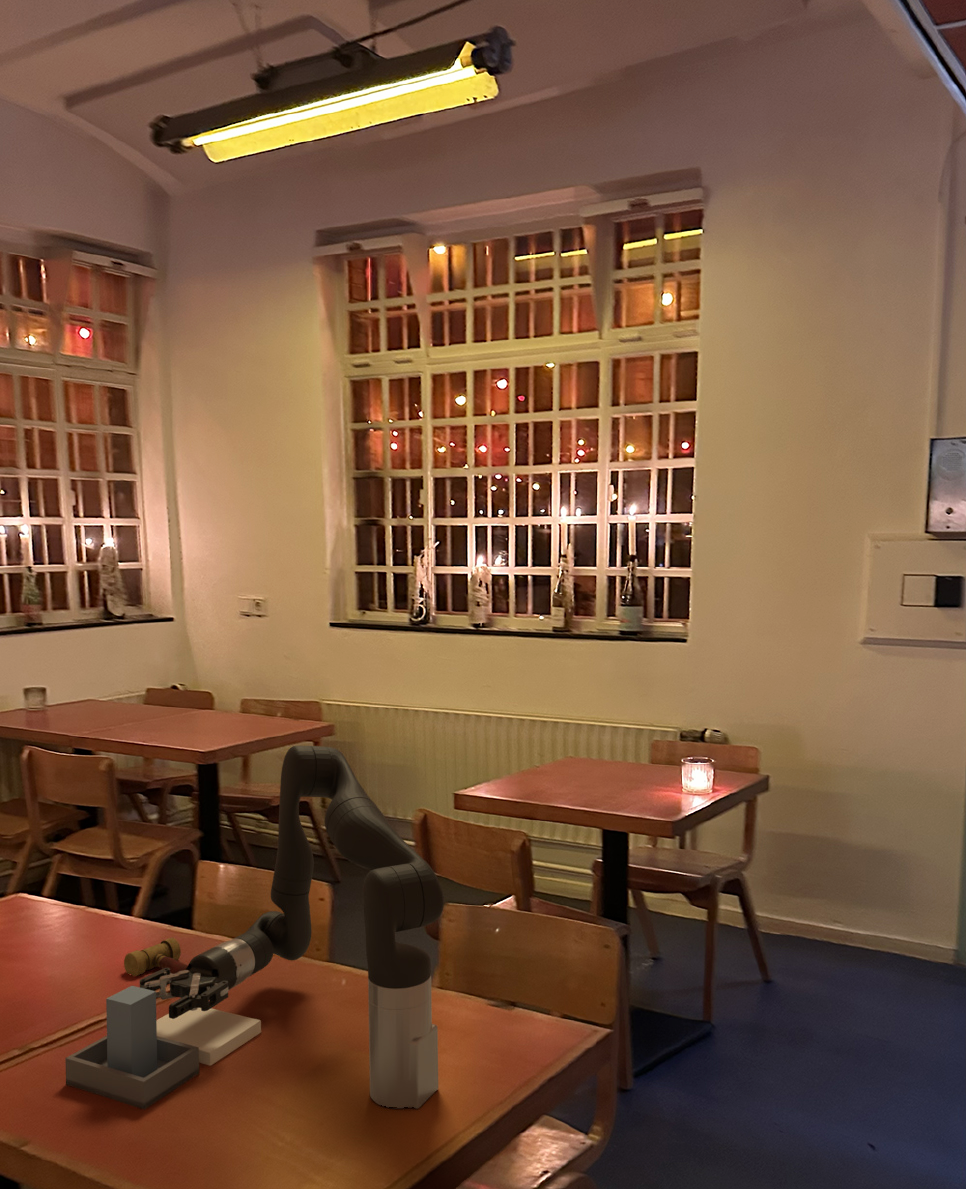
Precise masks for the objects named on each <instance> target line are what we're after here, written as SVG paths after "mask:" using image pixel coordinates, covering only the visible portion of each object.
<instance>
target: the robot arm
mask: <svg viewBox="0 0 966 1189" xmlns="http://www.w3.org/2000/svg"><path fill="white" fill-rule="evenodd" d="M284 755H285V756H284V758H283V761H282V766H281V772H280V774H281V775H280V786H279V787H280V788H279V791H280V792H279V804H278V805H279V807H278V832H277V833H278V834H277V835H278V837H277V838H278V840H277V851H276V852H277V853H276V859H275V865H274V872H273V875H272V876H273V877H272V882H271V889H270V900H271V902H272V903H273V904H274V905H275V906H277V907H278V908H279V909H280V910H281V911H282V912H281V911H276V910H272V911H267V912H264V913H262V914H261V915H260V916H259V917H258V918H257V919H256V920H255V922H253V924H252V925H250V927H249V928H247V930H246V931H245V932H244V933H242V934H240V935H238V936H236V937H234V938H232V939H230V940H226V941H224V942H221V943H219V944H217V945H215V946H214V947H210V948H209V949H208V950H205V951H203V952H201V953H199V954H197V955H195V956H194V957H193V958H192V959H191V960H190V961H189V962H188V964H187V965H188V966H187V968H186V969H185V970H184V971H179V972H177V973H175V974H172V973H170V968H164V969H162V968H161V969H160V970H158V971H155V972H154V973H151V974H148V975H147V976H145V977H142V978H140V979H139V987H140V988H144V989H148V990H152V991H156V999H161V1000H168V999H174V998H179V999H177V1000H175V1001H174V1002H171V1003H170V1004H169V1005H168V1014H169V1018H172V1019H175V1018H177V1017H179V1016H181V1015H182V1014H184V1013H185V1012H188V1011H189V1010H191V1011H194V1010H197V1009H198V1008H201V1011H208V1010H209V1009H211V1008H212V1009H213V1008H214V1007H215V1006H217V1005H218V1004H220V1003H222V1002H224V1000H226V999H228V998H229V991H230V990H231V989H234V988H235V987H237V986H238V985H240V984H241V983H243V982H244V981H246V979H248V978H249V977H251V976H252V975H254V974H256V973H258V972H259V971H262V970H263V969H264V968H266V967H267V966H268V965H269V964H270V963H271V961H272V959H273V956H274V955H276V956H278V957H280V958H283V959H284V960H287V961H297V960H300V958H302V957H303V956H304V955H305V953H306V952H307V951H308V948H309V947H310V943H311V940H312V918H311V910H310V909H311V906H310V898H309V897H310V891H311V886H312V881H313V874H314V866H315V862H314V861H315V860H314V854H313V850H312V847H311V845H310V841H309V839H308V836H307V835H306V833H305V831H304V828H303V825H302V823H301V818H300V809H299V808H300V800H301V798H325V799H326V798H327V799H331V800H330V803H329V804H328V807H327V809H326V812H325V815H324V827H325V831H326V834H327V835H328V837H329V839H330V841H331V842H332V844H333V845H334V846H335V849H336V850H337V852H338V853H339V854H340V855H341V856H342V857H343V858H344V859H346V860H347V861H349V862H351V863H353V864H355V865H356V866H359V867H361V868H362V869H366V870H368V873H367V874H366V876H365V877H364V881H363V886H362V907H363V909H362V910H363V919H364V932H365V934H364V936H365V938H364V939H365V940H364V941H365V954H366V964H367V983H368V984H367V986H368V988H367V991H368V997H367V998H368V1001H367V1002H368V1003H367V1004H368V1038H369V1039H368V1051H369V1054H368V1056H369V1057H368V1058H369V1060H368V1061H369V1062H368V1063H369V1064H368V1065H369V1066H368V1068H369V1096H370V1099H371V1100H372V1101H373V1102H374V1103H375V1104H377V1105H379V1106H381V1105H382V1107H384V1106H386V1108H389V1107H397V1108H396V1109H405V1108H404V1107H408V1108H412V1107H414V1108H413V1109H420V1107H422V1105H424V1104H425V1103H426V1102H427V1100H429V1098H431V1096H433V1095H434V1094H435V1093H436V1092H437V1090H439V1048H438V1047H439V1040H438V1039H439V1038H438V1037H439V1036H438V1032H439V1031H438V1029H439V1028H438V1025H437V1024H434V1023H433V1021H432V1020H433V1017H432V1014H433V1013H432V1009H433V1008H432V1003H433V1002H432V961H431V956H430V955H429V953H428V951H426V950H424V949H423V948H421V947H418V946H415V945H411V944H405V943H402V942H397V941H396V933H399V932H403V931H409V930H413V929H418V928H422V927H426V926H429V925H431V924H433V923H435V922H436V921H438V919H440V917H441V915H442V913H443V911H444V905H445V904H444V903H445V900H444V893H443V888H442V885H441V882H440V880H439V879H438V876H437V875H436V872H435V871H434V869H432V867H431V865H430V864H429V863H428V862H427V861H426V860H424V859H423V858H422V856H421V855H420V854H418V852H416V851H415V850H414V849H413V848H412V847H411V845H409V844H408V843H407V842H406V841H405V840H404V839H403V838H402V837H401V836H400V835H399V833H398V832H397V831H396V829H394V827H393V826H392V825H391V824H390V823H389V822H390V821H388V819H387V818H386V817H385V815H384V814H383V812H382V810H381V809H379V807H378V806H377V804H376V803H375V802H374V801H373V800H372V799H371V798H370V796H369V794H367V792H366V791H365V790H364V788H363V786H362V785H361V784H360V782H359V781H358V779H357V777H356V776H355V773H354V771H353V770H352V768H351V766H350V764H349V762H348V760H347V759H346V757H345V756H344V754H343V753H342V751H340V750H339V749H338V748H335V747H331V746H319V745H293V746H291V747H290V748H289V749H288V750H287V752H286V754H284ZM168 985H169V992H166V991H167V990H166V987H167V986H168ZM158 990H159V991H158Z"/></svg>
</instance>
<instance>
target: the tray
mask: <svg viewBox="0 0 966 1189" xmlns="http://www.w3.org/2000/svg"><path fill="white" fill-rule="evenodd" d="M64 1061H65V1062H64V1063H65V1085H67V1086H70V1087H72V1088H76V1089H79V1090H82V1091H85V1092H88V1093H92V1094H95V1095H99V1096H101V1097H103V1098H108V1099H110V1100H114V1101H116V1102H119V1103H123V1104H126V1105H129V1106H132V1107H136V1108H139V1109H141V1110H146V1109H147V1108H149V1107H150V1106H152V1105H154V1104H155V1103H157V1102H158V1101H160V1100H161V1099H163V1098H165V1096H168V1095H169V1094H170V1093H171V1092H173V1091H175V1090H176V1089H178V1088H179V1087H181V1086H183V1085H184V1084H185V1083H186V1082H187V1083H188V1082H189V1081H190V1080H191V1079H193V1078H194V1077H196V1076H197V1075H199V1074H200V1063H199V1047H195V1046H192V1045H188V1044H184V1043H181V1042H177V1041H173V1040H170V1039H166V1038H162V1037H158V1036H157V1070H156V1071H154V1072H152V1073H151V1074H149V1075H147V1076H146V1077H144V1078H143V1077H139V1076H136V1075H133V1074H129V1073H126V1072H123V1071H119V1070H116V1069H113V1068H109V1067H108V1063H107V1035H105V1036H103V1037H102V1038H100V1039H98V1040H96V1041H94V1042H92V1043H91V1044H89V1045H86V1046H85V1047H83V1048H81V1049H79V1050H78V1051H76V1052H74V1053H73V1054H70V1055H68V1056H67V1057H65V1060H64Z"/></svg>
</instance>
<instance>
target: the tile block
mask: <svg viewBox="0 0 966 1189" xmlns="http://www.w3.org/2000/svg"><path fill="white" fill-rule="evenodd" d="M156 992H157V990H156V991H152V990H148V989H144V988H140V986H135V985H131V986H128V987H127V988H124V989H123V990H120V991H119V992H118V991H117V993H114V994H113V995H111V996H108V997H107V998H105V1000H106V1001H105V1002H106V1003H105V1004H106V1005H105V1006H106V1008H105V1009H106V1036H107V1063H108V1067H109V1068H113V1069H116V1070H119V1071H123V1072H126V1073H129V1074H133V1075H136V1076H139V1077H143V1078H144V1077H146V1076H147V1075H149V1074H151V1073H152V1072H154V1071H156V1070H157V1023H156V1020H157V998H156Z"/></svg>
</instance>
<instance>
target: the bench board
mask: <svg viewBox="0 0 966 1189" xmlns="http://www.w3.org/2000/svg"><path fill="white" fill-rule="evenodd" d="M156 1023H157V1036H158V1037H162V1038H166V1039H170V1040H173V1041H177V1042H181V1043H184V1044H188V1045H192V1046H195V1047H199V1064H203V1065H207V1066H210V1067H211V1066H212V1065H214V1064H215V1063H217V1062H219V1061H220V1060H222V1059H224V1058H225V1057H226V1056H227V1055H229V1054H230V1053H232V1052H234V1051H235V1050H237V1049H238V1048H239V1047H241V1046H242V1045H244V1044H245V1043H247V1042H248V1041H251V1040H252V1039H253V1038H254V1037H257V1036H259V1034H261V1032H262V1021H261V1020H260V1019H257V1018H251V1017H249V1016H248V1017H247V1016H244V1015H240V1014H236V1013H231V1012H228V1011H224V1010H219V1009H215V1008H213V1007H212V1008H211V1009H209V1010H208V1011H201V1008H198V1009H197V1010H194V1011H191V1010H189V1011H188V1012H185V1013H184V1014H182V1015H181V1016H179V1017H177V1018H175V1019H172V1018H169V1013H167V1014H164V1016H162V1017H160V1018H158V1019H156Z"/></svg>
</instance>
